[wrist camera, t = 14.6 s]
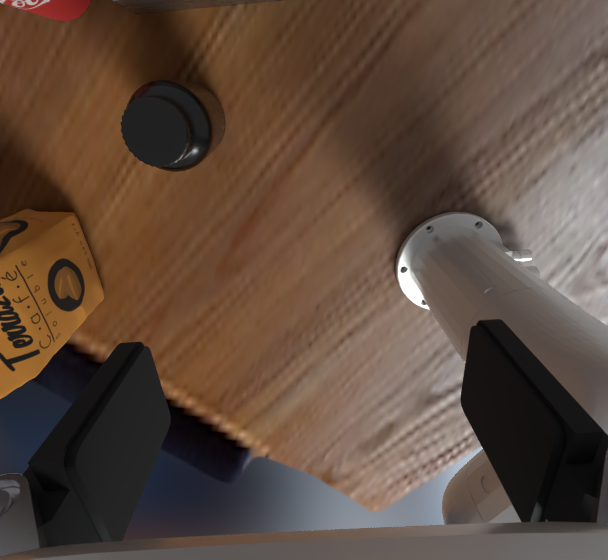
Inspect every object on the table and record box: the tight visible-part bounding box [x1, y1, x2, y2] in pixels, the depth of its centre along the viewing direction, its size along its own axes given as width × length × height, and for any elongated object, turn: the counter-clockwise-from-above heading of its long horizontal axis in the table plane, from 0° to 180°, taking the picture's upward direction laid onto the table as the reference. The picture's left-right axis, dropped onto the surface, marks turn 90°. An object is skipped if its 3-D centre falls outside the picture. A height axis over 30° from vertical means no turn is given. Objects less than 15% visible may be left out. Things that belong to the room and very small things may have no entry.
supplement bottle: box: [121, 80, 225, 172], centre depth 31 cm, size 7×7×12 cm
